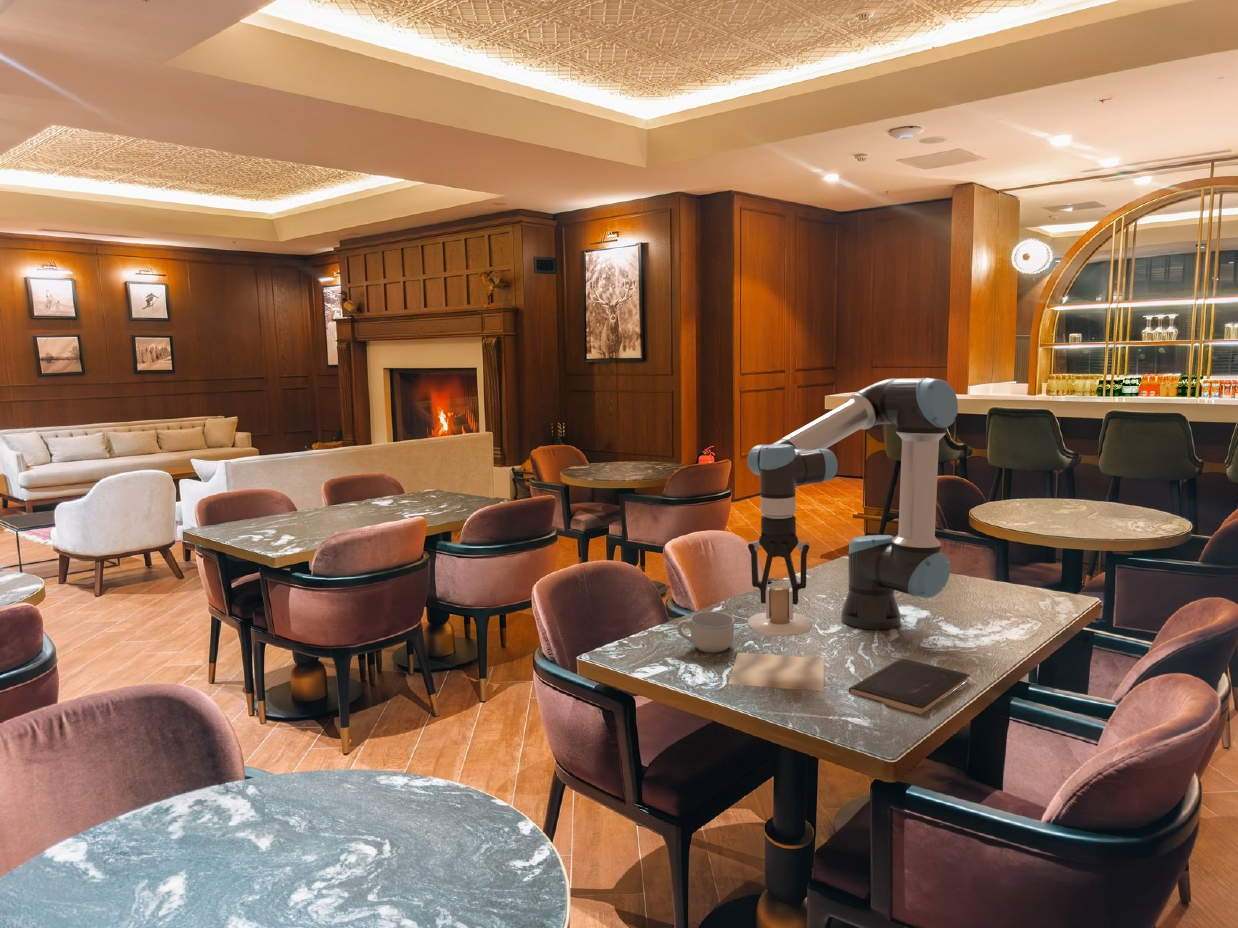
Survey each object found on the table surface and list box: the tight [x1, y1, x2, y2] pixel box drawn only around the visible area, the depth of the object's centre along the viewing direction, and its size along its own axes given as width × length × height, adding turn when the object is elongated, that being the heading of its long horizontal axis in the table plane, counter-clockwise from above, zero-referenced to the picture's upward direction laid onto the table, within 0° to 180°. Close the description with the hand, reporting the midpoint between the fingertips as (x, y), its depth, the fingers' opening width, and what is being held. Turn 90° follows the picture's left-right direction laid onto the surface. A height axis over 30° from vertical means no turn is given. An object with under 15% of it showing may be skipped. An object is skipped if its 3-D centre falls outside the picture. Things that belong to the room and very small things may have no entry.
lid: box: [747, 585, 813, 637], centre depth 183 cm, size 14×14×8 cm
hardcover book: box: [848, 657, 971, 715], centre depth 175 cm, size 16×23×2 cm
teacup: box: [676, 610, 736, 654], centre depth 200 cm, size 14×11×8 cm
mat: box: [727, 652, 825, 692], centre depth 185 cm, size 20×20×1 cm
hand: (779, 617), depth 184 cm, fingers closed on lid, 4 cm apart
